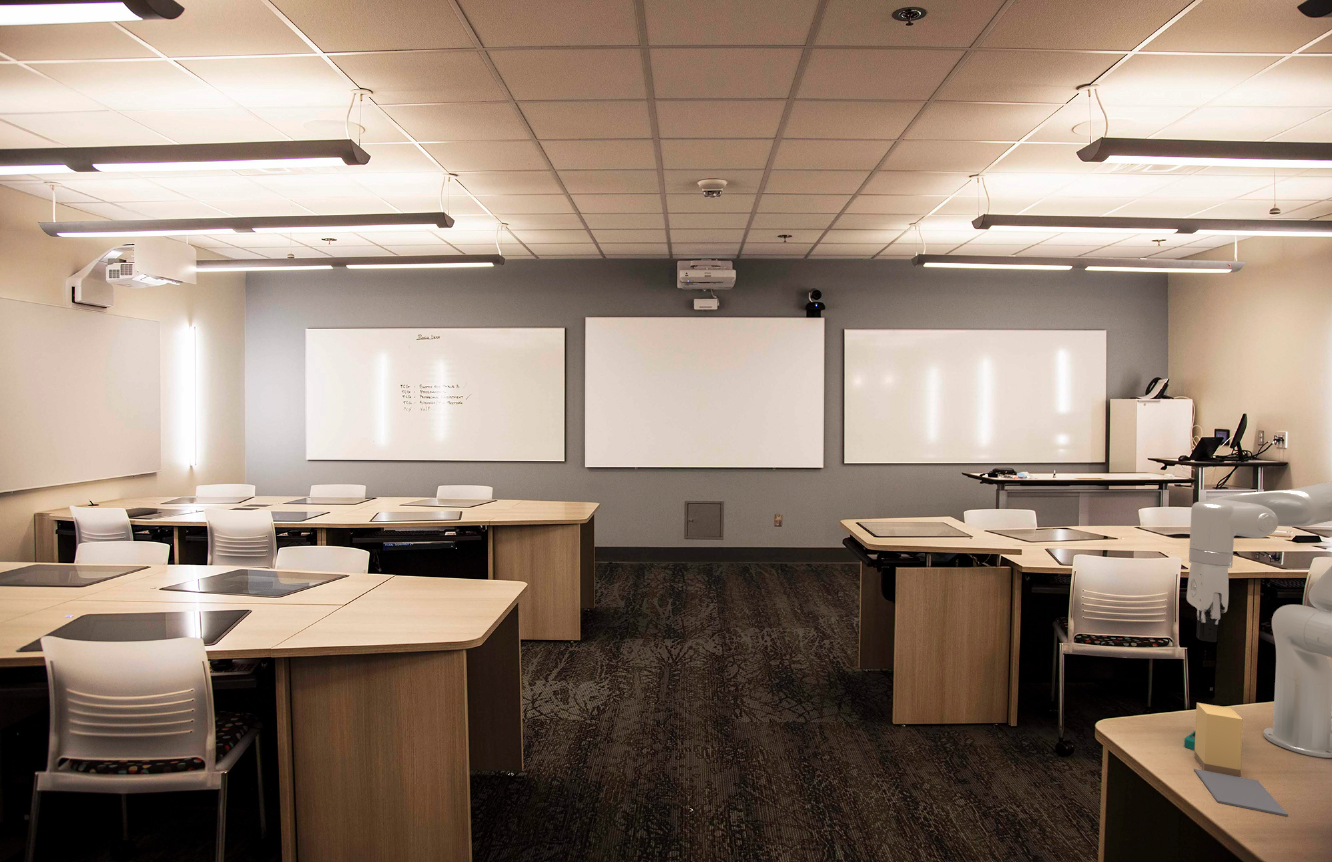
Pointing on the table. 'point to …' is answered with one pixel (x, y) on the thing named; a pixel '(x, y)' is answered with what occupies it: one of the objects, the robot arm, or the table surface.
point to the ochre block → (1218, 739)
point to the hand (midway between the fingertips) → (1206, 639)
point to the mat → (1240, 792)
